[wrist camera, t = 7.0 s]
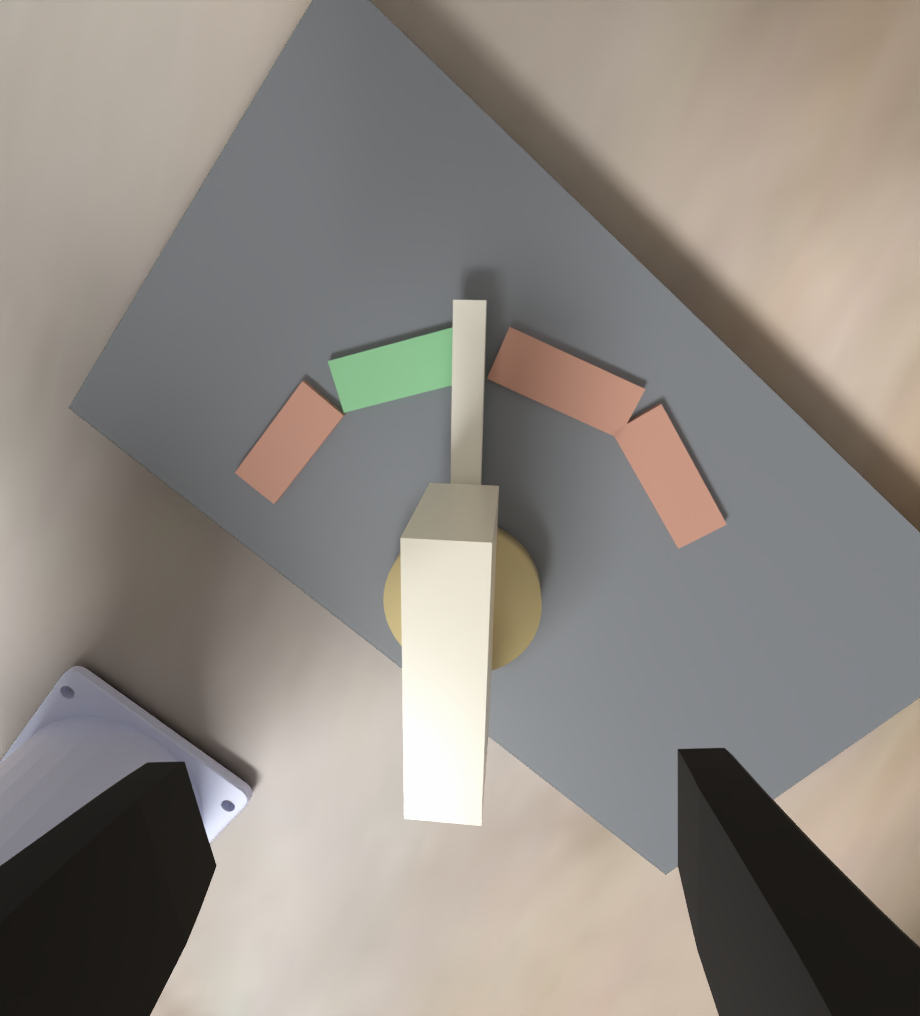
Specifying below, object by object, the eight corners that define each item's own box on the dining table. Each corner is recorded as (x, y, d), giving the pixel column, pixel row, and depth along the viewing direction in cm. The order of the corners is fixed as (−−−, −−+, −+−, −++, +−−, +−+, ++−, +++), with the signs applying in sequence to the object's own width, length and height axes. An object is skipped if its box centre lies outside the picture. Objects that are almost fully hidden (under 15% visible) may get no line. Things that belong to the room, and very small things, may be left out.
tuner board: (658, 844, 21) (667, 880, 20) (97, 402, 18) (63, 409, 17) (986, 607, 18) (1024, 632, 16) (348, -7, 14) (330, -40, 13)
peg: (533, 697, 18) (538, 831, 14) (392, 686, 19) (349, 813, 14) (559, 302, 15) (579, 296, 10) (384, 298, 15) (323, 293, 10)
